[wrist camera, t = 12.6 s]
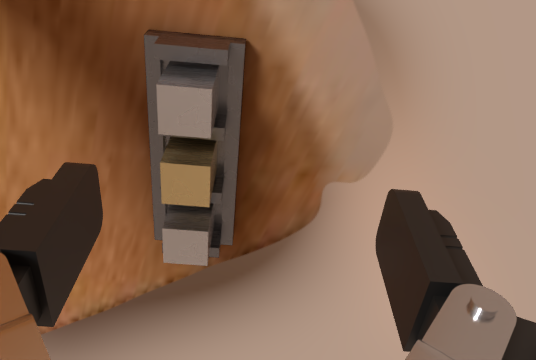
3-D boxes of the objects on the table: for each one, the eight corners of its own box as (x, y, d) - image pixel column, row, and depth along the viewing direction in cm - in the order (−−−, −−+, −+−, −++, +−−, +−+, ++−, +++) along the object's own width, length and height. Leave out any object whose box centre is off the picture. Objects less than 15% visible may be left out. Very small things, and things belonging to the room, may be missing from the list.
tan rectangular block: (173, 128, 42) (160, 162, 37) (217, 132, 42) (210, 166, 37) (174, 166, 44) (161, 203, 39) (216, 170, 44) (209, 207, 39)
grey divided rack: (157, 230, 49) (142, 276, 44) (148, 29, 38) (126, 55, 32) (233, 236, 50) (228, 282, 44) (246, 38, 39) (241, 66, 33)
